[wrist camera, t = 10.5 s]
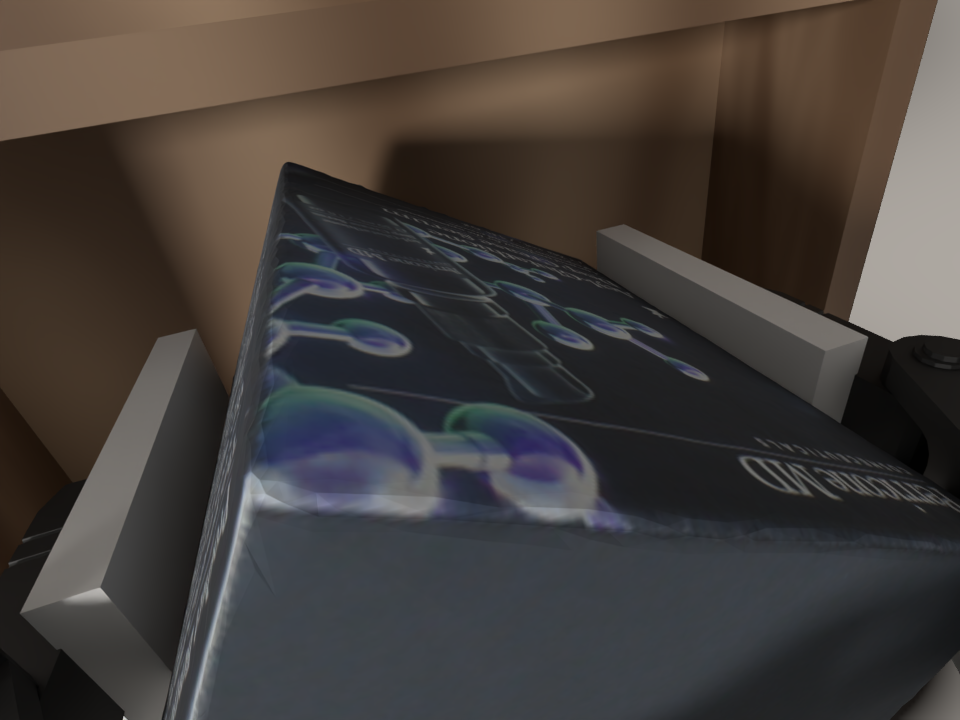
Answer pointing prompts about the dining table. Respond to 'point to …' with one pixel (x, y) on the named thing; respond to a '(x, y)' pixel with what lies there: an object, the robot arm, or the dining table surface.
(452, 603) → the box
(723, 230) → the tray
